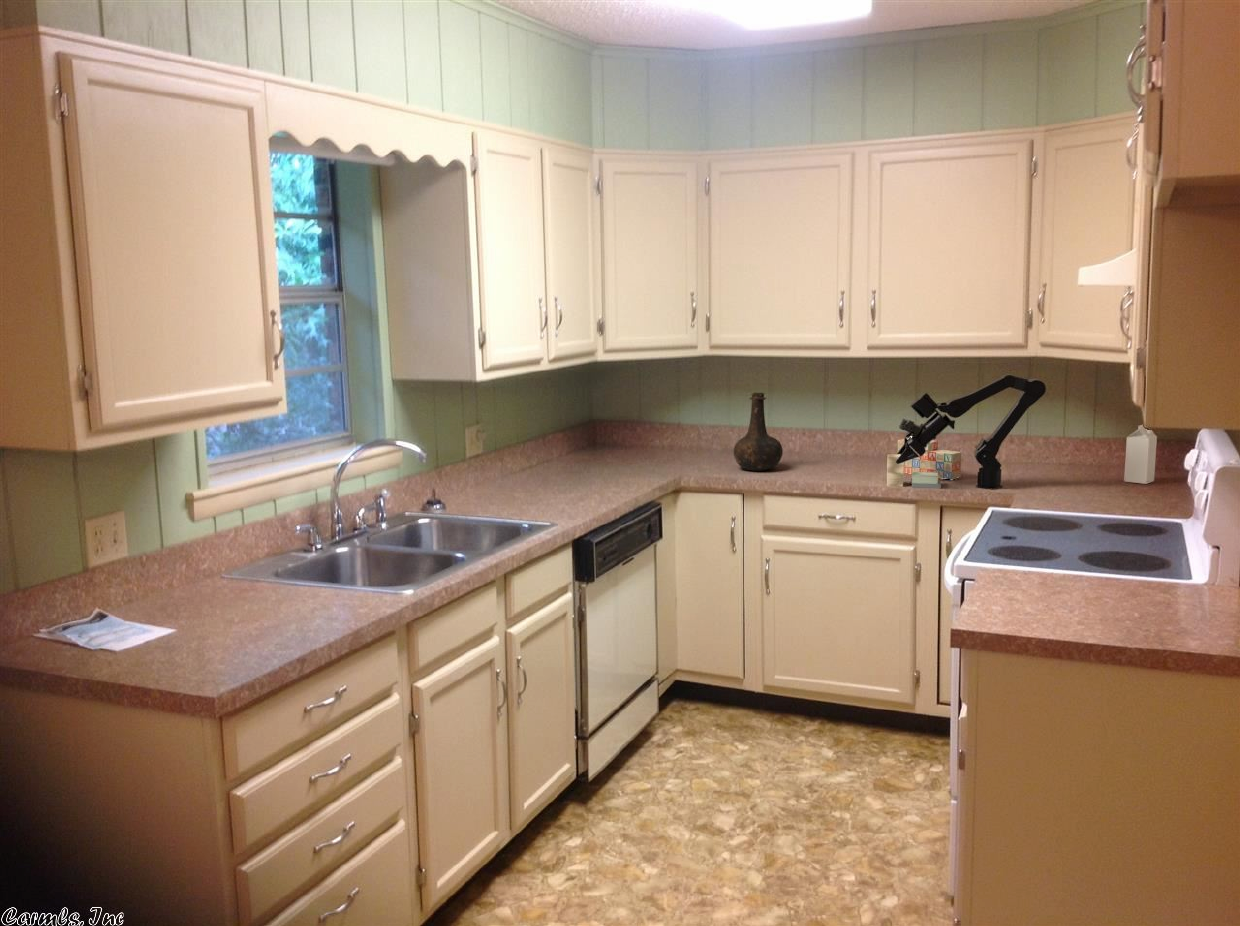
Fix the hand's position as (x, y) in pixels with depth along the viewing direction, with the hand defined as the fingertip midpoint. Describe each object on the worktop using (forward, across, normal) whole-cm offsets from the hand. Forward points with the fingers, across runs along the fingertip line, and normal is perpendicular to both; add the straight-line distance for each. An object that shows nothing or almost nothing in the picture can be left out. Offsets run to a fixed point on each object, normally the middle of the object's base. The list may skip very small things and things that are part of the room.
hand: (896, 460), depth 357 cm
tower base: (-1, 0, +13) cm, 13 cm away
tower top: (-2, 0, +11) cm, 11 cm away
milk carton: (-50, -16, +61) cm, 81 cm away
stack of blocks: (-2, -19, +14) cm, 24 cm away
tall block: (+6, 0, +6) cm, 8 cm away
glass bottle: (+40, -25, -28) cm, 55 cm away
